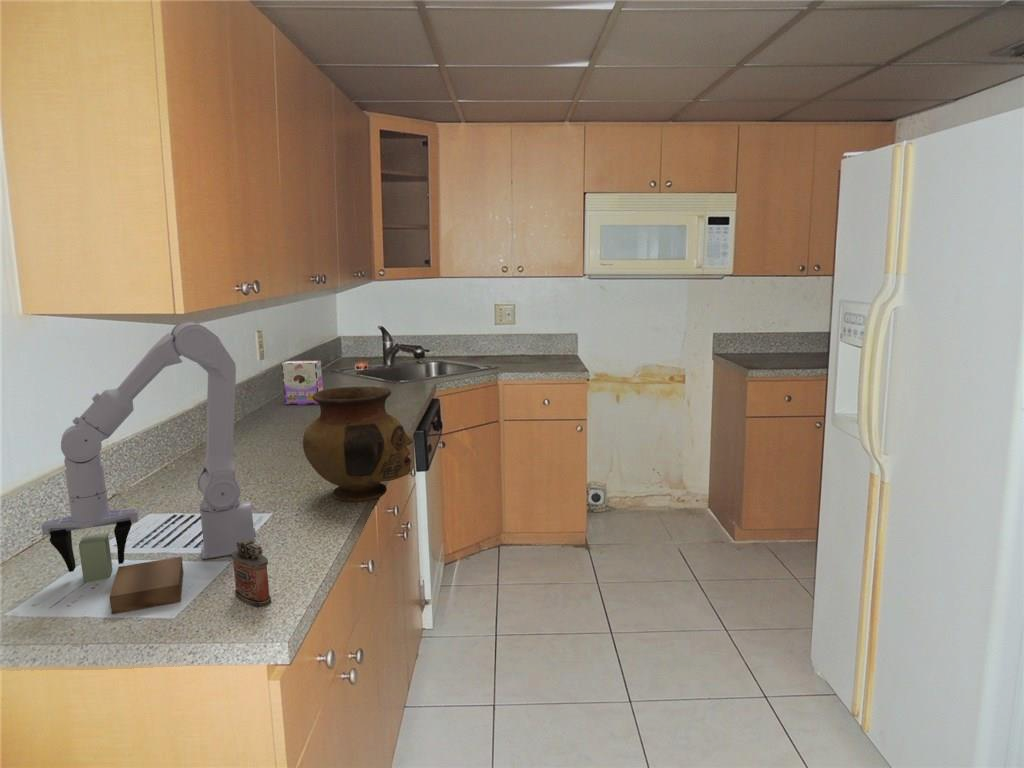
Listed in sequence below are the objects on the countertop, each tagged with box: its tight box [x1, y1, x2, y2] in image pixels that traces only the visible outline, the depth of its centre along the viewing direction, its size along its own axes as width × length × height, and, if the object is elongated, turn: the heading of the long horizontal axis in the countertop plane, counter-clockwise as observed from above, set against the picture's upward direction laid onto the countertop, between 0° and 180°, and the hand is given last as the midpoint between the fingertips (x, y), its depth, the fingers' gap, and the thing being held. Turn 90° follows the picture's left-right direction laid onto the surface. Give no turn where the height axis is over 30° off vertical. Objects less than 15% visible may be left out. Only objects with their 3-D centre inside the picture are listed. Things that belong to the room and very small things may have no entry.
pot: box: [302, 386, 414, 503], centre depth 166 cm, size 25×24×25 cm
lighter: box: [230, 539, 272, 609], centre depth 116 cm, size 8×3×10 cm, turn 52°
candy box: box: [281, 360, 324, 405], centre depth 272 cm, size 14×6×16 cm, turn 84°
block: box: [78, 532, 113, 583], centre depth 125 cm, size 4×4×7 cm
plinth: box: [108, 556, 184, 615], centre depth 119 cm, size 10×12×3 cm
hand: (97, 565), depth 126 cm, fingers open, 7 cm apart
